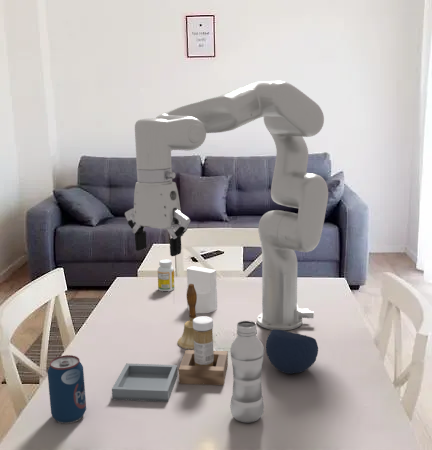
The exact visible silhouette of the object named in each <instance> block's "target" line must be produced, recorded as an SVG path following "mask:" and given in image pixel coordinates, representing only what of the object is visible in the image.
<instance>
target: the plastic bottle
mask: <svg viewBox="0 0 432 450" xmlns="http://www.w3.org/2000/svg"><path fill="white" fill-rule="evenodd" d="M236 334H237V336H236V337H235V339H234V340H233V342H232V343H231V346H230V348H229V349H230V351H229V352H230V359H231V366H232V375H233V377H232V378H233V379H232V380H233V381H232V382H233V384H232V385H233V386H232V393H231V397H230V403H229V404H230V405H229V407H230V412H231V413H230V414H231V415H232V417H233V418H234V419H235V420H236V421H237V422H241V423H249V424H250V423H253V422H256V421H258V420H259V419H261V417H262V416H263V414H264V409H265V403H264V397H263V392H262V390H263V389H262V369H263V368H262V367H263V362H264V355H265V348H264V344H263V343H262V341H261V340H260V338H259V337H258V336H257V334H258V330H257V322H255V321H253V320H241V321H239V322H237V323H236Z"/></svg>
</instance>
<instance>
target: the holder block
mask: <svg viewBox="0 0 432 450" xmlns="http://www.w3.org/2000/svg"><path fill="white" fill-rule="evenodd" d="M228 353H229V352H228V351H227V350H213V356H214V361H213V366H195V360H194V349H192V350H191V349H185V351H184V353H183V357H182V359H181V361H180V365H179V368H178V384H181V385H204V386H205V385H207V386H224V385H225V381H226V377H227V373H228V372H227V370H228V366H229V365H228V364H229V356H228V355H229V354H228Z"/></svg>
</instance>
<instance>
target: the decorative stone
mask: <svg viewBox="0 0 432 450" xmlns="http://www.w3.org/2000/svg"><path fill="white" fill-rule="evenodd" d="M265 342H266V343H265V353H266V355H267V358H268V360H269V362H270V364H271V365H272V366H273V367H274V368H276V369H277V370H278V371H280V372H282V373H285V374H291V375H292V374H300V373H302V372H305V371H306V370H309V368H311V367H312V366H313V365H314V364H315V362H316V361H317V357H318V353H319V346H318V342H317V340H316V338H314V337H312V336H308V335H305V334H300V333H294V332H291V331H288V330H278V329H274V330H270V332H269V334H268V336H267V339H266V341H265Z"/></svg>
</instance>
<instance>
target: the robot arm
mask: <svg viewBox="0 0 432 450" xmlns="http://www.w3.org/2000/svg"><path fill="white" fill-rule="evenodd" d="M260 118H263V123H264V126H265V127H266V129H267V131H268V132H269V134H270V136H271V137H272V139H273V141H274V144H275V148H276V153H275V155H276V156H275V163H274V169H273V174H272V180H271V186H270V196H271V200H272V201H273V202H274V203H276V204H277V205H281V206H284V207H288V208H294V209H298V212H297V213H295V212H291V211H287V210H285V211H284V210H279V209H275V210H269V211H267V212H265V213H264V214H263V215H262V216H261V218H260V219H259V222H258V228H257V229H258V238H259V242H260V246H261V258H262V259H261V260H262V262H261V263H262V266H261V267H262V270H261V273H262V276H261V277H262V279H261V280H262V281H261V282H262V283H261V285H262V287H261V289H262V291H261V293H262V298H261V299H262V303H261V304H262V307H261V309H262V311H261V313H260V314H258V315H257V316H256V324H258V326H259V327H262V328H264V329H267V330H270V331H272V330H274V329H278V330H284V331H290V330H294V329H297V328H299V327H301V325H303V319H314V316H315V315H314V311H311V310H309V308H300V307H299V304H298V258H297V254H296V251H297V252H301V253H311V252H312V251H314V250H315V249H316V248H317V246H318V245H319V243H320V241H321V237H322V233H323V229H324V223H325V218H326V212H327V211H326V210H327V206H328V200H329V189H328V184H327V182H326V180H325V178H323V176H321V175H319V174H316V173H310V172H307V169H308V162H309V149H308V146H307V143H306V141H305V138H308V137H313V136H316V135H318V134H319V133H320V132H321V131H322V129H323V127H324V122H325V116H324V112H323V110H322V108H321V107H320V105H319V104H318V103H316V102H315V101H314V100H313V99H312V98H311V97H309V96H308V95H307V94H305V93H304V92H303V91H301V90H300V89H299V88H298V87H296V86H295V85H293V84H291V83H289V82H287V81H282V80H270V81H269V80H268V81H267V80H265V81H264V80H262V81H254V82H252V83H251V82H250V83H249V84H246V85H244V86H240V87H239V88H237V89H234V90H231V91H228V92H227V93H224V94H221V95H218V96H215V97H212V98H211V97H210V98H208V99H204V100H200V101H198V102H197V101H196V102H194V103H190V104H186V105H182V106H179V107H177V108H174V109H171V110H169V111H166V112H163V113H162V114H159V115H158V116H156V117H155V118H141V119H138V120H137V121H136V122H135V124H134V138H135V139H134V141H135V156H136V157H135V160H136V174H137V175H136V177H137V182H135V186H134V194H133V208H130V209H129V210H127V211H125V212H124V216H125V218H126V220H127V224H128V226H129V227H130V229H131V232H132V233H133V234H134V243H135V251H136V252H138V251H141V250H144V249H146V248H147V232H146V230H145V228H151V229H159V230H167V232H168V234H169V235H170V236H171V237H170V239H169V256H171V257H175V256H178V255H180V254H181V253H182V237H183V236H184V234H185V233H186V232H187V231H188V227H189V225H190V223H191V219H190V217H189V216H187V215H185V214H184V213H182V211H181V204H180V203H181V202H180V196H179V190H178V187H177V183H176V182H175V181H173V179H176V175H177V174H176V172H174V171H173V168H172V151H185V152H186V151H189V152H190V151H194V150H197V149H198V148H200V147H201V146H202V145H203V144H204V143H205V140H206V138H207V134H214V133H215V134H216V133H225V132H230V131H234V130H236V129H238V128H241V127H242V126H245V125H246V124H249V123H251V122H254V121H256V120H257V119H260Z"/></svg>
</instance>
